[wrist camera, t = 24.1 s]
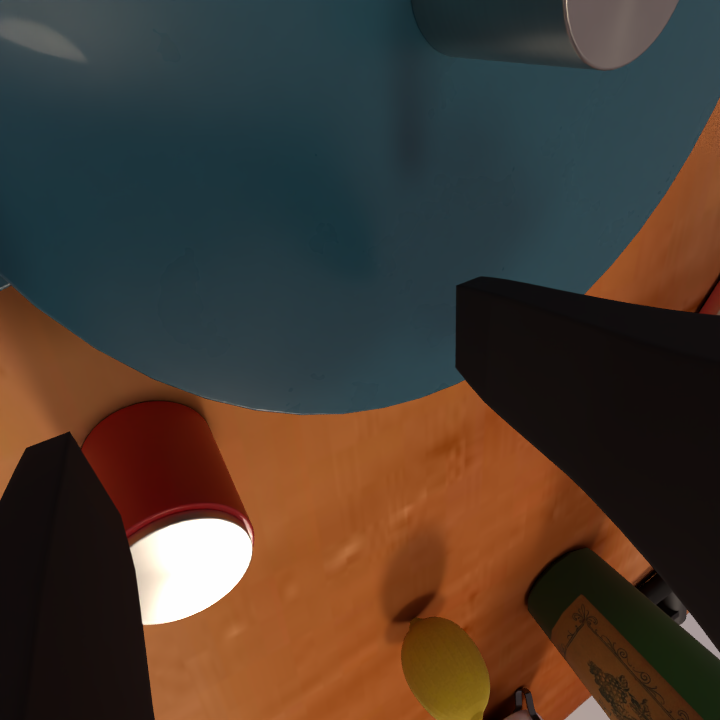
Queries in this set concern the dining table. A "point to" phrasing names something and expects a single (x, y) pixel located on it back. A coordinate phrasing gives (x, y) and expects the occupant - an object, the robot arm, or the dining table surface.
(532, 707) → the coffee press
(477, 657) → the lemon
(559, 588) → the bottle
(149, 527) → the can
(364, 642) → the dining table surface
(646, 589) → the door handle
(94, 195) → the pot lid
